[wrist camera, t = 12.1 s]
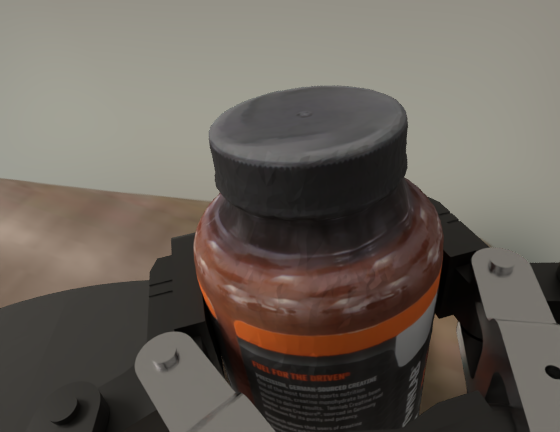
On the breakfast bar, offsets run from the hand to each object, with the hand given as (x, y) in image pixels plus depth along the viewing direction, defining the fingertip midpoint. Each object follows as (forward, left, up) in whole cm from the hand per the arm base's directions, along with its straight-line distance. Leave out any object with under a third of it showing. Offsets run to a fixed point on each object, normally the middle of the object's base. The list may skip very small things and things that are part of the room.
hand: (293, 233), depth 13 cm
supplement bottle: (-2, -1, -7) cm, 7 cm away
